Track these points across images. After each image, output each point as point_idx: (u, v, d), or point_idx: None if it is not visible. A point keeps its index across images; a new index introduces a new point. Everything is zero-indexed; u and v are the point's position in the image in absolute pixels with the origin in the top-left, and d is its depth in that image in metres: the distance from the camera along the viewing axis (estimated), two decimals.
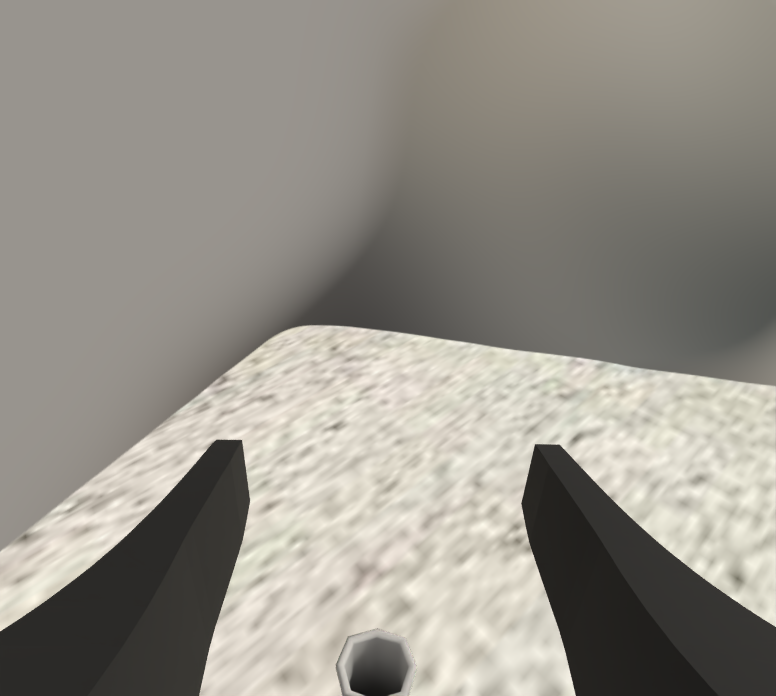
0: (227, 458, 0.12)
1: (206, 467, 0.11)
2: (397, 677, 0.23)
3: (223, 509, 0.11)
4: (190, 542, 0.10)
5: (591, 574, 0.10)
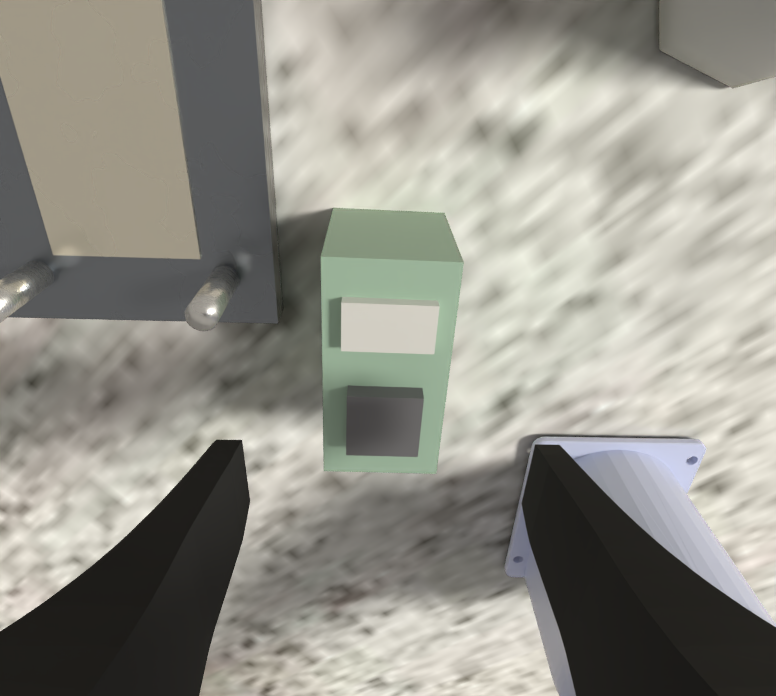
0: (227, 458, 0.12)
1: (206, 467, 0.11)
2: None
3: (223, 509, 0.11)
4: (190, 542, 0.10)
5: (591, 574, 0.10)
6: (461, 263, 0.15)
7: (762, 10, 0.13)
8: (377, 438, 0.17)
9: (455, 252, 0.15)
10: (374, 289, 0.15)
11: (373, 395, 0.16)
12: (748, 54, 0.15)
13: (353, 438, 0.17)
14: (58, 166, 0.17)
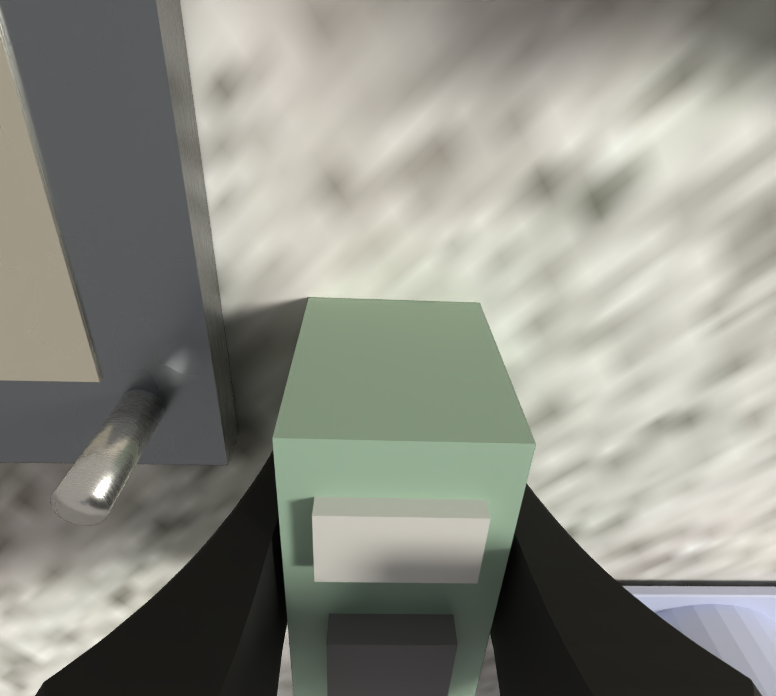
0: None
1: None
2: None
3: None
4: (274, 543, 0.10)
5: (511, 574, 0.10)
6: (531, 445, 0.08)
7: None
8: (378, 692, 0.10)
9: (515, 412, 0.09)
10: (372, 484, 0.08)
11: (371, 639, 0.10)
12: None
13: (339, 692, 0.10)
14: None
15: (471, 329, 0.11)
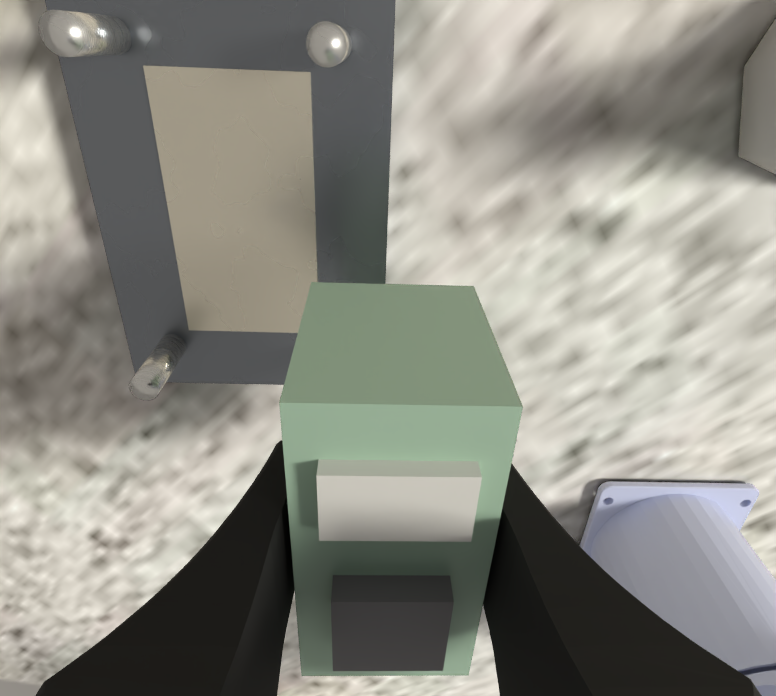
0: None
1: (277, 468, 0.11)
2: None
3: None
4: (274, 543, 0.10)
5: (511, 574, 0.10)
6: (519, 408, 0.09)
7: None
8: (380, 650, 0.11)
9: (504, 380, 0.09)
10: (372, 447, 0.09)
11: (373, 597, 0.10)
12: None
13: (343, 651, 0.11)
14: (204, 257, 0.19)
15: (465, 309, 0.12)
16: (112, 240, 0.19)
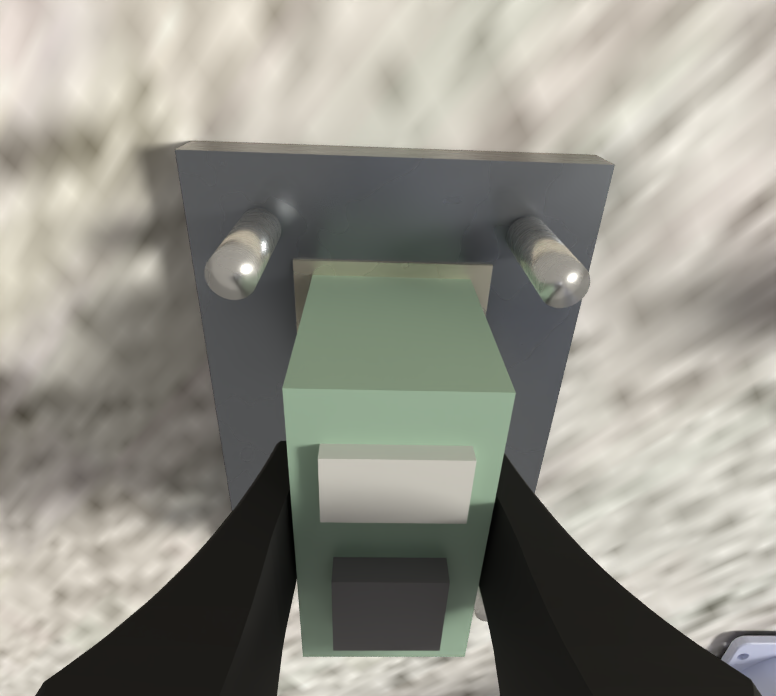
0: None
1: (277, 468, 0.11)
2: None
3: None
4: (274, 543, 0.10)
5: (511, 574, 0.10)
6: (512, 394, 0.09)
7: None
8: (379, 630, 0.11)
9: (499, 368, 0.10)
10: (371, 432, 0.09)
11: (372, 578, 0.11)
12: None
13: (343, 630, 0.12)
14: None
15: (462, 301, 0.12)
16: (230, 430, 0.16)
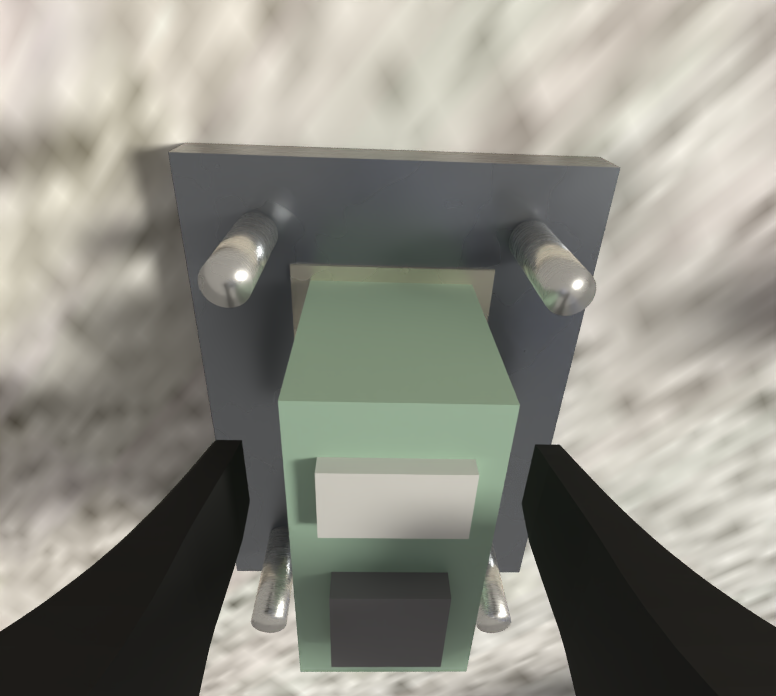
0: (227, 458, 0.12)
1: (206, 467, 0.11)
2: None
3: (223, 509, 0.11)
4: (190, 542, 0.10)
5: (591, 574, 0.10)
6: (516, 406, 0.09)
7: None
8: (378, 646, 0.11)
9: (502, 378, 0.09)
10: (370, 445, 0.09)
11: (371, 594, 0.10)
12: None
13: (342, 647, 0.11)
14: None
15: (463, 307, 0.12)
16: (226, 438, 0.16)
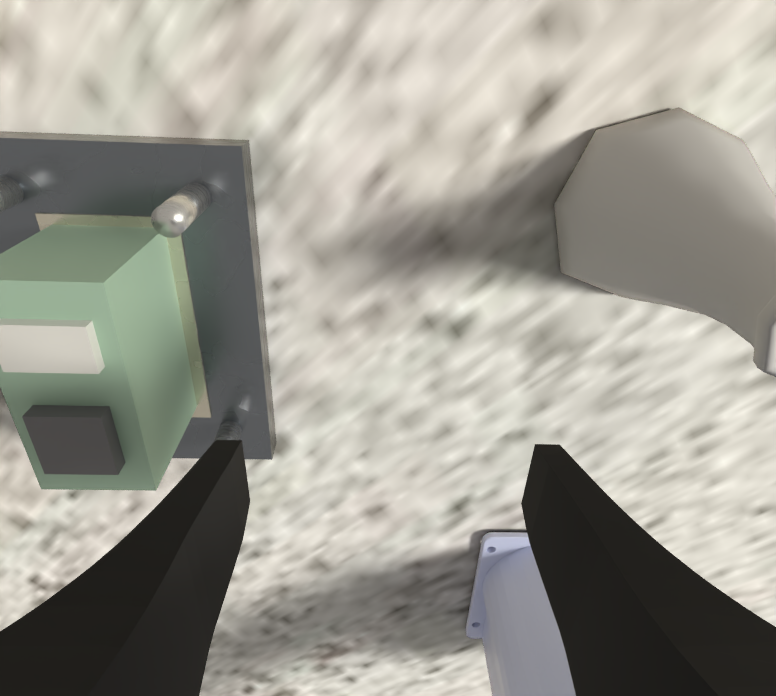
0: (227, 458, 0.12)
1: (206, 467, 0.11)
2: None
3: (223, 509, 0.11)
4: (190, 542, 0.10)
5: (591, 574, 0.10)
6: (101, 283, 0.15)
7: (618, 282, 0.18)
8: (70, 457, 0.17)
9: (111, 271, 0.15)
10: (23, 310, 0.15)
11: (51, 415, 0.16)
12: (620, 290, 0.20)
13: (46, 457, 0.17)
14: None
15: (138, 239, 0.18)
16: None
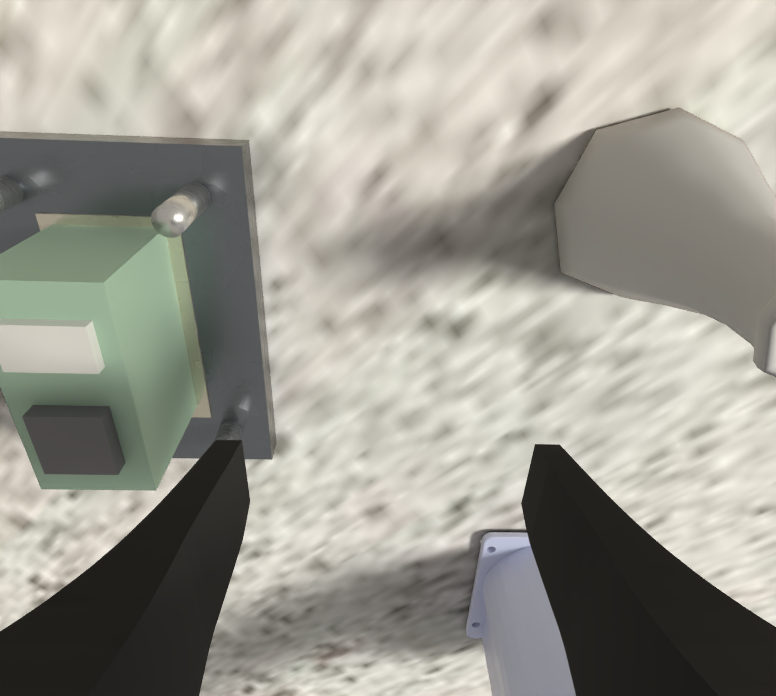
0: (227, 458, 0.12)
1: (206, 467, 0.11)
2: None
3: (223, 509, 0.11)
4: (190, 542, 0.10)
5: (591, 574, 0.10)
6: (101, 283, 0.15)
7: (618, 282, 0.18)
8: (70, 457, 0.17)
9: (111, 272, 0.15)
10: (23, 310, 0.15)
11: (51, 415, 0.16)
12: (620, 290, 0.20)
13: (46, 457, 0.17)
14: None
15: (138, 239, 0.18)
16: None
